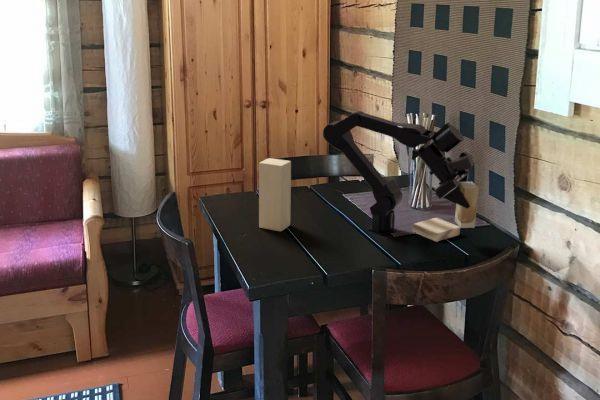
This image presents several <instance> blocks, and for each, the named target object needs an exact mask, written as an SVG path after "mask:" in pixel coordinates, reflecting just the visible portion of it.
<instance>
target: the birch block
mask: <svg viewBox="0 0 600 400" xmlns="http://www.w3.org/2000/svg"><path fill="white" fill-rule="evenodd" d="M412 232H413V233H415V232H416V233H415V234H417V235H420V236H422V237H424V238H426V239H429V240H431V241H434V242H439V241H440V242H441V241H443V240H446V239H450V238H454V237H457V236H460V234H461V228H460V227H459V225H458V224H454V223H451V222H449V221H446V220H444V219H442V218H440V217H432V218H430V219H425V220H422V221H418V222H415V223H412Z"/></svg>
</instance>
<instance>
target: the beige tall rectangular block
mask: <svg viewBox="0 0 600 400" xmlns="http://www.w3.org/2000/svg"><path fill="white" fill-rule="evenodd" d="M291 182H292V161H291V160H287V159H286V160H285V159H280V158H279V159H278V158H272V157H269V158H265V159H264V160H262V161H260V162H259V163H258V227H259V228H260V229H261V228H262V229H265V230H270V231H276V232H282V231H284V230H286V229H287V228H288V227H289V226H291V202H292V201H291V199H292V198H291V189H292V186H291V185H292V183H291Z"/></svg>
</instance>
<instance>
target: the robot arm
mask: <svg viewBox="0 0 600 400" xmlns="http://www.w3.org/2000/svg"><path fill="white" fill-rule="evenodd" d="M356 127H358V128H362V129H366V130H368V131H370V132H375V133H378V134H381V135H384V136H388V137H391V138H393V139H395V140H396V141H397V142H399V143H400V144H402V145H404V146H406V147H407V148H411V149H412V151H411V153H412V155H411V160H412V161H414V160H415V159H416V158H418V157H419V159H420V160H421V161H422V162H423V164H424V165H425V166H426V167H427V168H428V169H429V170H430V171H429V174H430V175H431V176H434V177H435V178H436V179H437V181H439V183H438V186H437V187H436V188H435V192H434V193H435V195H436V196H437V197H438V199H444V200H448V201H451V202H453V203H454V204H456V203H457V204H459V205H461V206H463V207H465V208H467V209H468V208H469V207H470V205H469V203H468V201H467V200H466V198H465V197H464V195H463V193H462V192H461V183H460V184H459V182H469V181H468V180H469V176H470V174H469V171H470V169H471V168H473V166H475V163H474V160H473V158H474V157H473V156H472V155H471V153H468V152H467V151H466V150H465V151H462V152H460V153H459V157H456V158H454V159H452V158H451V157H449V156H447V157H446V156H445V155H444V153H443V152H445V153H447V154H448V153H450V152H451V151H453V149H454V148H457V146H458V145H459V144H461V143H462V142H464V139H465V138H464V136H463V134H462V133H461V131H460V130H459V129H458V128H456V127H455V126H454V125H452V124H450V122H446V123H445V124H444V125H442V127H440V128H439V130H438V131H434V130H432V129H431V130H430V129H426V127H425V126H424V125H422V124H418V123H411V122H410V123H405V122H404V123H402V122H400V123H399V122H396V121H392V120H390V119H385V118H383V117H379V116H376V115H374V114H370V113H366V112H363V111H362V110H356V111H354V112H352V113H350V115H348V116H347V117H345V118H344V119H342V120H337V121H333V122H331V123H329V124H327V125H326V126H325V127H324V128H323V130H322V131H323V132H322V136H323V139H324V140H325V141H326V142H327V143H328V144H329V145H330V146H331V147H332V148H334V149H336V150H338V151H340V152H342V154H343V155H344V156H345V158H346V159H348V161H349V162H350V163H351V165H352V166H353V168H355V170H356V171H357V173H358V174H359V175H360V176H361V177H362V179H363V180H364V181H365V182H366V183H367V184H368V186H369V187H370V189H371V191H372V192H371V193H372V194H373V195H372V196H373V198H374V200H375V203H374V204H373V205H371V206H370V207H369V210H370V214H371V215H372V217H371V226H369V227H368V230H369V231H372V232H373V233H377V234H378V235H381V236H384V235H387V234H390V233H395V232H397V231H398V229H397V228H396V227H395V220H396V215H395V209H396V207H397V206H398V205H399V204H401V202H402V200H403V193H402V191H401V190H402V188H401V187H400V186H398V185H397V182H396V181H395V179H394V178H393V179H392V178H391V180H387V179H385V177H383V176H382V175H381V173H380V172H379V171H378V170H377V169H376V167H375V166H374V165H373V164H372V162H371V161H370V160H369V159H368V157H367V156H366V155H365V153H363V152H362V150H361V149H360V147H359V146H357V144H356V143H355V141H354V137H353V134H352V131H351V130H352V129H355V128H356ZM430 141H432V142H431V143H429V142H430ZM427 143H429V144H427ZM420 145H421V146H420ZM419 146H420V147H419ZM417 147H419V148H417ZM413 148H414V149H413ZM416 148H417V149H416ZM458 184H459V185H458Z"/></svg>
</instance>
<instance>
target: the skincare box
mask: <svg viewBox="0 0 600 400" xmlns="http://www.w3.org/2000/svg"><path fill="white" fill-rule="evenodd" d="M460 183H461V192H462V193H463V195H464V197H465V198H466V200H467V201H468V203H469V205H470V207H469V208H468V209H467V208H465V207H463V206H461V205H459V204H457V203H455V214H454V222H455V223H456V225H457V226H459V227H460V229H470V228H472V229H475V226H476V219H477V210H478V203H479V202H478V201H479V192H480V191H479V190H480V188H479V186H477V185H476V183H474V182H473V181H468V182H459V184H460ZM459 184H458V185H459Z"/></svg>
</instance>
